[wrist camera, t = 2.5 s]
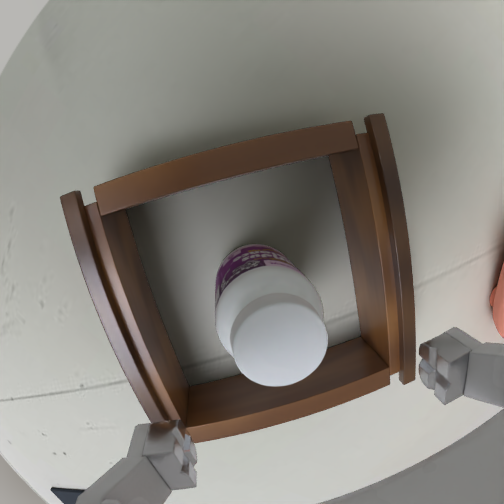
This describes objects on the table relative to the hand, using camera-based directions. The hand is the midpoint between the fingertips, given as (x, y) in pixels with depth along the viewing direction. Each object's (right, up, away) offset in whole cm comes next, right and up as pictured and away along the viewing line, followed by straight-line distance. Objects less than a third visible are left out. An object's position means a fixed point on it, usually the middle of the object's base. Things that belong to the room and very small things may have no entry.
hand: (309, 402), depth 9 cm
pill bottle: (-2, +3, +13) cm, 13 cm away
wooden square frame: (-2, +3, +13) cm, 13 cm away
